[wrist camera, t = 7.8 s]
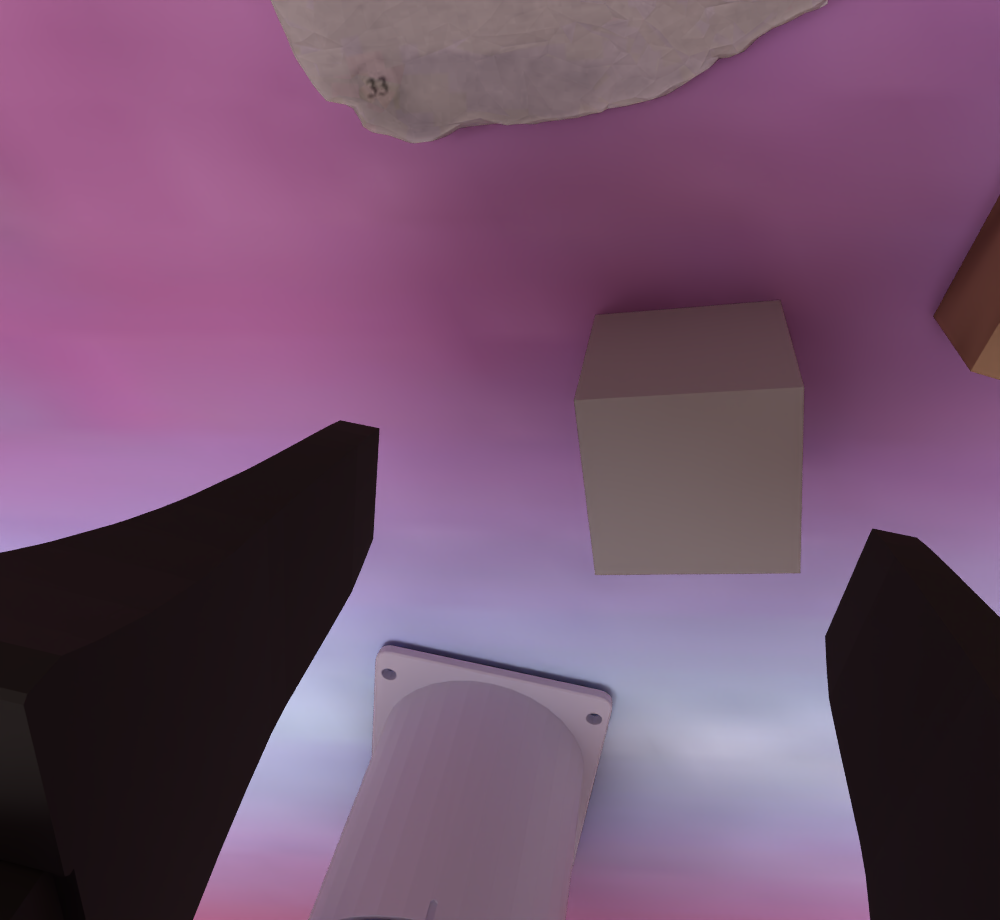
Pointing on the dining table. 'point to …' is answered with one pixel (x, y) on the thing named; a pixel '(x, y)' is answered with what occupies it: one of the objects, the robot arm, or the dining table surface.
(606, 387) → the slate block
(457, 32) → the stone block
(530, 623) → the dining table surface
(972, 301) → the walnut block
